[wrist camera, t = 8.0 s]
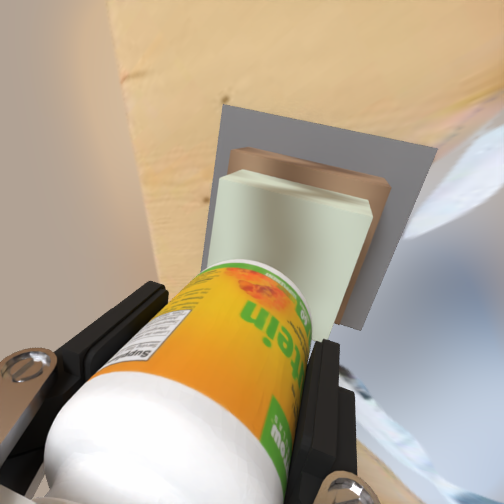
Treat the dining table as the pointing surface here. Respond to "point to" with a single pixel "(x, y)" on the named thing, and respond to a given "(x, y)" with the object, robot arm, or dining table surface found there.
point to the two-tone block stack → (299, 225)
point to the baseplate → (339, 155)
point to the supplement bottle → (192, 400)
